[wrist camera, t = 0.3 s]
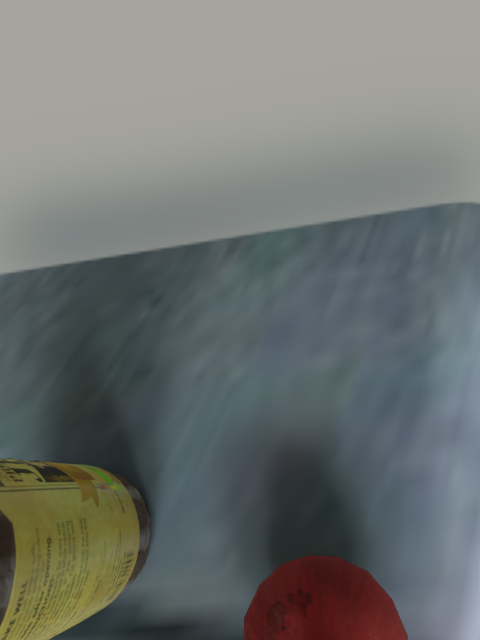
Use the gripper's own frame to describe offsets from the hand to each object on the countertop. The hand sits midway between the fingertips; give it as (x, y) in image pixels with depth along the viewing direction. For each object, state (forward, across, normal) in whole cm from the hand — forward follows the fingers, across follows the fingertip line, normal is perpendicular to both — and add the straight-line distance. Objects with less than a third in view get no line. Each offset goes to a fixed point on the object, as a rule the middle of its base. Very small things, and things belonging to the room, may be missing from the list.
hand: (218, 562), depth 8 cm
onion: (+10, -2, +12) cm, 16 cm away
